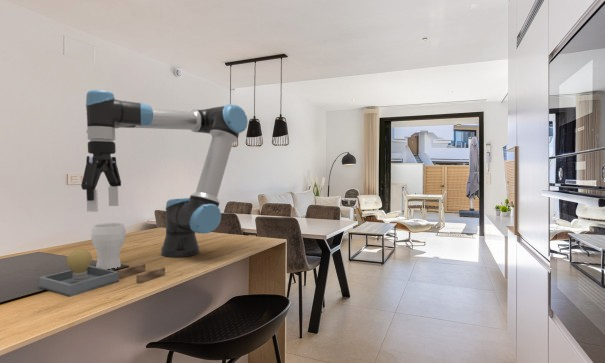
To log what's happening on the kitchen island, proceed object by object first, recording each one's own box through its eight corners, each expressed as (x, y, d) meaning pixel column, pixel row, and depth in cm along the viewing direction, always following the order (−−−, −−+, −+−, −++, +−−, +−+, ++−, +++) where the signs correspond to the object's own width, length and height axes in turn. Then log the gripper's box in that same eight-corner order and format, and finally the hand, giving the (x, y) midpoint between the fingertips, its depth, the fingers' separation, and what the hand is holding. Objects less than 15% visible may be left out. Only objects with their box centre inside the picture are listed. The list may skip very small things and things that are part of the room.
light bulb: (93, 283, 102) (91, 250, 101) (67, 287, 98) (65, 253, 97) (92, 276, 107) (90, 245, 106) (67, 281, 103) (65, 248, 103)
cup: (83, 269, 118) (84, 225, 118) (111, 261, 128) (111, 222, 128) (105, 273, 114) (105, 228, 114) (132, 265, 124) (132, 224, 124)
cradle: (143, 270, 118) (143, 263, 118) (165, 275, 114) (165, 267, 114) (116, 278, 109) (116, 270, 109) (139, 283, 105) (139, 275, 105)
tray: (89, 274, 112) (89, 265, 112) (118, 281, 106) (118, 272, 106) (39, 287, 99) (39, 277, 99) (69, 296, 93) (69, 285, 93)
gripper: (108, 143, 119) (109, 203, 120) (65, 138, 94) (67, 214, 95) (130, 143, 120) (132, 203, 121) (93, 138, 95) (96, 214, 96)
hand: (103, 208), depth 108 cm, fingers open, 13 cm apart
